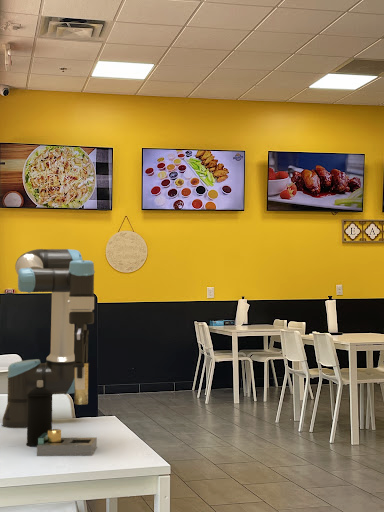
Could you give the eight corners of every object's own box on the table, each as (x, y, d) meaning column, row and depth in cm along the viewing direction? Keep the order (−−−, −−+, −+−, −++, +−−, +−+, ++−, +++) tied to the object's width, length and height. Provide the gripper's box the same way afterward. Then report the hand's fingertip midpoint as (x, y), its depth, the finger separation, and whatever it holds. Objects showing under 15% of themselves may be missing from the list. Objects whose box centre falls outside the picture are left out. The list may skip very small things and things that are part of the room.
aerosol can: (46, 447, 228) (47, 382, 229) (21, 446, 229) (22, 381, 230) (56, 442, 236) (57, 379, 237) (32, 441, 237) (33, 379, 238)
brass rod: (75, 402, 224) (75, 363, 225) (88, 402, 224) (89, 363, 225) (73, 404, 220) (73, 364, 221) (86, 404, 220) (87, 364, 221)
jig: (44, 447, 227) (44, 427, 228) (96, 447, 227) (96, 426, 228) (36, 455, 215) (37, 434, 216) (91, 455, 215) (91, 433, 216)
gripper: (73, 310, 233) (73, 385, 231) (64, 311, 216) (64, 391, 214) (97, 310, 233) (97, 385, 231) (90, 311, 216) (90, 391, 214)
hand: (81, 388), depth 223 cm, fingers closed on brass rod, 4 cm apart
